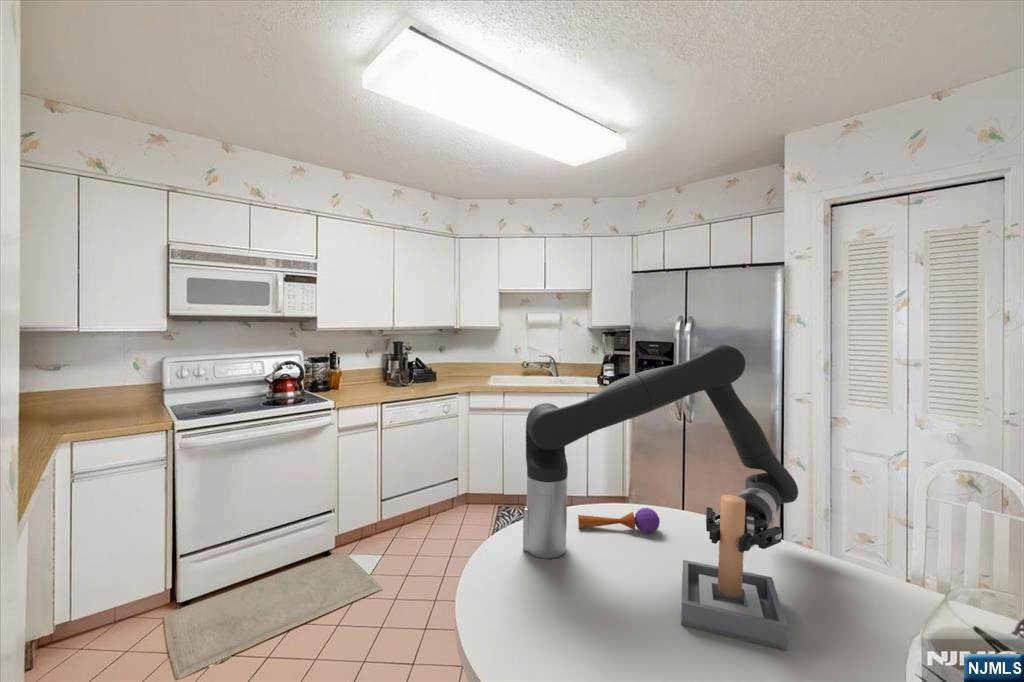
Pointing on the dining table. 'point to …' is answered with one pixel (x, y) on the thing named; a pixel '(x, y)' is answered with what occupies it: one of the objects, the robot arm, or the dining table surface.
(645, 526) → the kendama
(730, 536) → the peg
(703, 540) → the dining table surface
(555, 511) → the robot arm
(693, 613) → the box
